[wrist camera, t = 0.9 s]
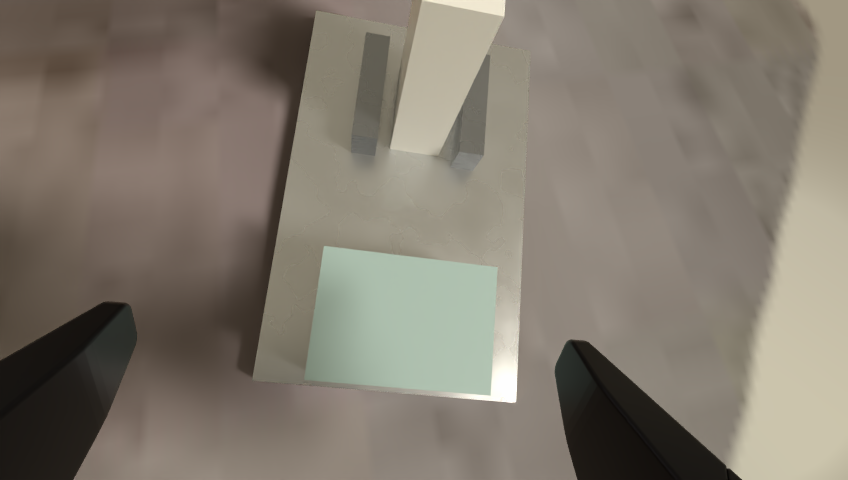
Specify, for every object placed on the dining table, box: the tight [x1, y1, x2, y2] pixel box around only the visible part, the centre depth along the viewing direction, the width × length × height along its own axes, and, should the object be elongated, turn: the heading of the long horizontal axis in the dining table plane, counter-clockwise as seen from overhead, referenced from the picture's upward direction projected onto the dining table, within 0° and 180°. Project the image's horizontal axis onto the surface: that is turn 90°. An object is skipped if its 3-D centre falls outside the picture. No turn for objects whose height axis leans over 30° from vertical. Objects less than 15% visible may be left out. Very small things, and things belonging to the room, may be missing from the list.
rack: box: [252, 10, 530, 403], centre depth 23 cm, size 19×12×3 cm, turn 175°
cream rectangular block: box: [390, 0, 505, 156], centre depth 19 cm, size 4×2×10 cm, turn 175°
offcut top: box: [304, 246, 498, 396], centre depth 19 cm, size 5×7×2 cm
